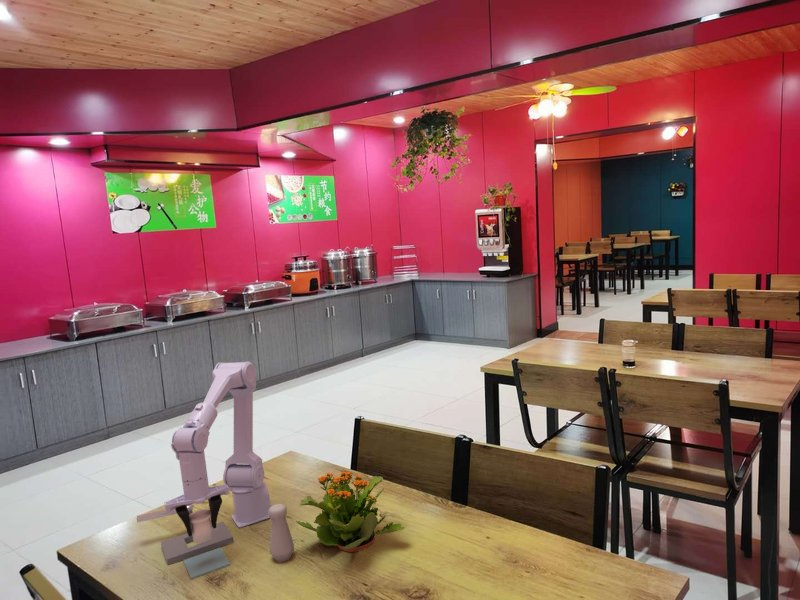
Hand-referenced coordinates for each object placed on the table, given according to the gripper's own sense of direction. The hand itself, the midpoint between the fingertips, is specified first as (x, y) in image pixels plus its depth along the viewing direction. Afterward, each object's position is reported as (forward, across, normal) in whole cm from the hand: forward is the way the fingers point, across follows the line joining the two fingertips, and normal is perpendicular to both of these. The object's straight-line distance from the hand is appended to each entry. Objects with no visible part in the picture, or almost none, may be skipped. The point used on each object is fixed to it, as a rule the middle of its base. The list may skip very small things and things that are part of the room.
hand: (202, 530), depth 138 cm
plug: (+2, 0, 0) cm, 2 cm away
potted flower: (+9, +33, -16) cm, 37 cm away
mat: (+8, 0, 0) cm, 8 cm away
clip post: (+8, 0, +18) cm, 20 cm away
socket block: (+8, 0, +10) cm, 14 cm away
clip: (+2, -6, +20) cm, 20 cm away
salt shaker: (+9, +16, -10) cm, 21 cm away
